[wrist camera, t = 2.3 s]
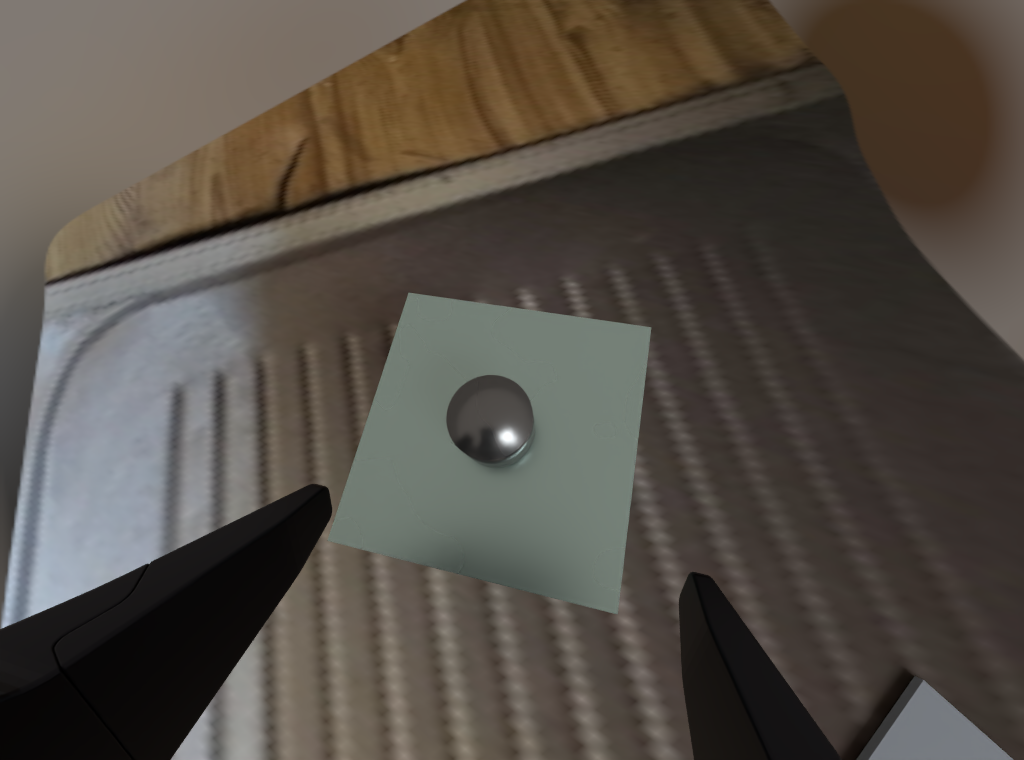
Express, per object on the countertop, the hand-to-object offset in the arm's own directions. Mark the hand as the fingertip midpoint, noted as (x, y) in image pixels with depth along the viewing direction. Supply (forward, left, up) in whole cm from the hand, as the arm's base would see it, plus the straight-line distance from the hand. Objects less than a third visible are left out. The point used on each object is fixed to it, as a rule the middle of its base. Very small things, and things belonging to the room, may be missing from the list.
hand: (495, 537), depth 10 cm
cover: (+2, +1, -9) cm, 10 cm away
